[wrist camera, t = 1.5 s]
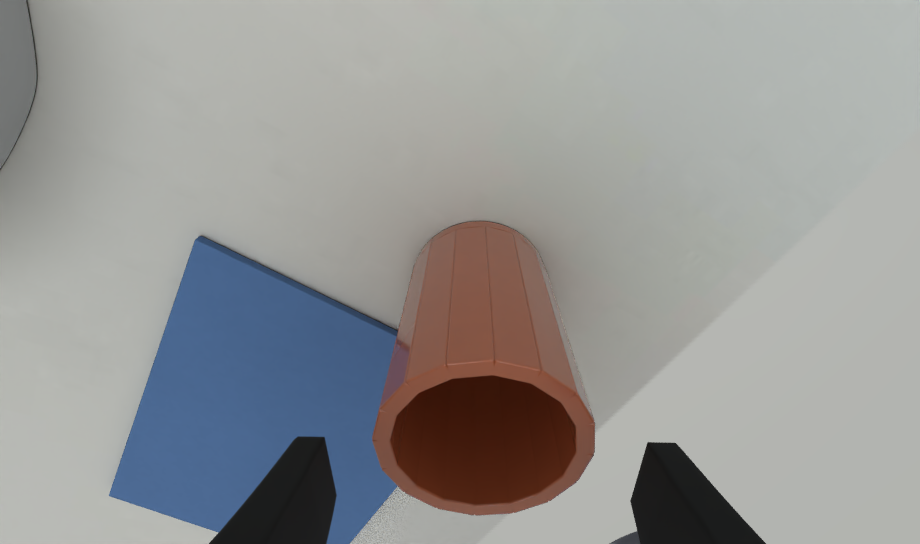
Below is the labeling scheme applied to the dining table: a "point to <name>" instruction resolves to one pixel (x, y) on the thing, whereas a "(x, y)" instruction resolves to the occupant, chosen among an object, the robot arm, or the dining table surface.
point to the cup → (482, 380)
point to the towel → (255, 395)
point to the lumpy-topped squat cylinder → (15, 72)
